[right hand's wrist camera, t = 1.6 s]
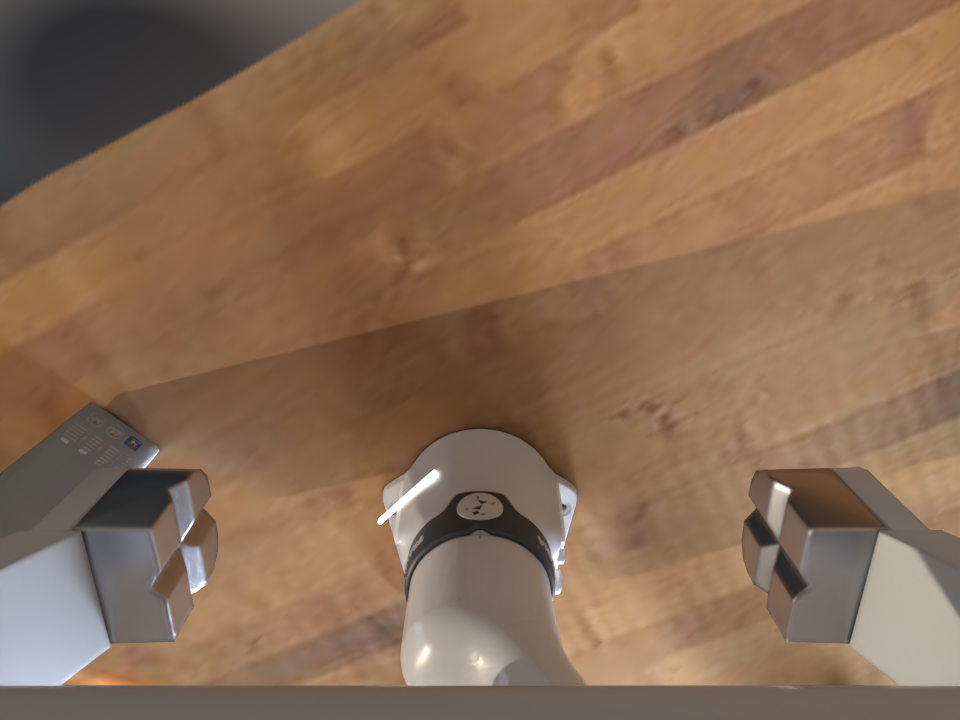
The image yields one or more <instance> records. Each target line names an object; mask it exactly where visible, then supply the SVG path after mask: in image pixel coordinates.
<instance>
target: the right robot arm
mask: <svg viewBox="0 0 960 720" xmlns="http://www.w3.org/2000/svg"><path fill="white" fill-rule="evenodd" d="M210 497H211V491H210V487H209V482H208V477H207V475H206V474H205V473H204V472H203V471H202V470H201V469H165V468H134V469H133V468H131V467H124V468H99V469H93V470H92V471H91V472H90V473H89V474H88V475H87V476H86V477H85V478H84V479H83V480H82V481H81V482H80V483H79V484H78V485H77V486H76V487H75V488H73V489H72V490H71V491H70V492H69V493H68V494H67V495H66V496H65V497H64V498H63V499H62V500H61V501H60V502H59V503H58V504H57V505H56V506H55V507H54V508H53V509H52V510H51V511H50V512H49V513H48V514H47V515H46V516H44V517H43V518H42V519H41V520H40V521H39V522H38V523H37V524H36V525H35V526H34V527H33V528H32V529H31V530H18V531H16V532H14V533H11V534H9V535H7V536H5V537H2V538H0V720H960V538H958V537H955V536H953V535H951V534H949V533H946V532H944V531H942V530H929V529H928V528H927V527H926V526H925V525H924V524H923V523H922V522H921V521H920V520H919V519H918V518H917V517H916V516H915V515H914V514H913V513H911V512H910V511H909V510H908V509H907V508H906V507H905V506H904V505H903V504H902V503H901V502H900V501H899V500H898V499H897V498H896V497H895V496H894V495H893V494H892V493H891V492H890V491H889V490H888V489H887V488H886V487H885V486H884V485H883V484H882V483H880V482H879V481H878V480H877V479H876V478H875V477H874V476H873V475H872V474H871V473H870V472H869V471H868V470H865V469H863V468H860V467H850V468H818V469H778V470H757V471H756V472H755V474H754V476H753V478H752V480H751V485H750V491H749V497H750V498H751V500H752V501H753V503H754V504H755V506H756V507H757V508H756V509H755V510H754V511H753V512H752V513H751V515H750V516H749V517H748V518H747V519H746V520H745V521H744V527H743V534H742V550H743V559H744V563H745V566H746V569H747V572H748V574H749V576H750V578H751V580H752V582H753V584H754V585H755V586H757V587H759V588H760V589H762V590H763V591H765V592H766V593H768V600H767V605H766V607H767V609H768V611H769V612H770V614H771V616H772V618H773V619H774V621H775V623H776V625H777V627H778V628H779V630H780V632H781V634H782V635H783V637H784V639H785V641H786V642H815V643H850V644H849V647H851V648H852V649H853V650H855V651H856V652H857V653H858V654H860V655H861V656H862V657H864V658H865V659H866V660H867V661H869V662H870V663H871V664H873V665H874V666H875V667H877V668H878V669H879V670H880V671H882V672H883V673H884V674H886V675H887V676H888V677H889V678H891V679H892V680H893V681H895V682H896V683H897V684H899V685H900V686H589V685H588V684H587V683H586V682H585V681H584V679H583V678H582V677H581V676H580V674H579V673H578V672H577V671H576V669H575V668H574V666H573V665H572V663H571V662H570V660H569V658H568V656H567V655H566V653H565V650H564V648H563V645H562V641H561V638H560V634H559V630H558V626H557V622H556V618H555V613H554V607H553V601H554V595H555V594H556V595H557V594H560V592H561V588H562V579H563V577H562V571H561V570H560V569H557V567H558V564H564V562H565V555H566V553H565V549H563V547H564V543H565V540H566V537H567V533H568V530H569V526H570V523H571V520H572V516H573V513H574V509H575V506H576V503H577V490H576V488H575V486H574V485H573V484H571V483H570V482H569V481H567V480H566V479H564V478H562V477H560V476H559V475H557V474H555V473H554V472H553V471H552V470H551V469H550V468H549V466H548V465H547V464H546V462H545V461H544V459H543V458H542V457H541V456H540V454H539V453H538V452H537V451H536V450H535V449H534V448H533V447H531V446H530V445H529V444H527V443H526V442H524V441H523V440H521V439H519V438H517V437H515V436H513V435H510V434H508V433H504V432H501V431H496V430H490V429H471V430H464V431H459V432H456V433H452V434H450V435H447V436H445V437H443V438H441V439H439V440H437V441H436V442H434V443H433V444H431V445H430V446H429V447H428V448H426V449H425V450H424V451H423V452H422V453H421V454H420V456H419V457H418V458H417V459H416V461H415V462H414V464H413V465H412V466H411V468H410V469H409V470H408V471H407V472H406V473H405V474H403V475H401V476H400V477H398V478H396V479H394V480H393V481H391V482H390V483H389V484H387V485H386V486H385V488H384V490H383V502H384V506H385V509H386V513H385V514H384V515H382V516H381V517H380V518H379V520H378V523H379V524H380V525H381V524H382V523H383V522H384V521H385V520H386V519H387V518H388V519H389V523H390V526H391V530H392V533H393V536H394V540H395V543H396V547H397V550H398V553H399V557H400V560H401V564H402V567H403V570H404V574H405V576H404V579H405V595H406V601H407V610H406V617H405V624H404V631H403V639H402V646H401V654H400V656H401V667H402V672H403V676H404V679H405V682H406V684H407V686H60V685H62V684H63V683H64V682H66V681H67V680H68V679H69V678H71V677H72V676H73V675H75V674H76V673H77V672H79V671H80V670H81V669H82V668H84V667H85V666H86V665H88V664H89V663H90V662H91V661H93V660H94V659H95V658H97V657H98V656H99V655H101V654H102V653H103V652H104V651H106V650H107V649H108V648H110V647H111V645H110V643H144V642H174V641H175V639H176V637H177V636H178V634H179V632H180V630H181V628H182V627H183V625H184V623H185V621H186V620H187V618H188V616H189V614H190V612H191V611H192V609H193V607H194V605H193V600H192V593H194V592H195V591H197V590H198V589H200V588H201V587H203V586H205V585H206V584H207V582H208V580H209V578H210V576H211V574H212V572H213V570H214V566H215V561H216V557H217V553H218V532H217V526H216V521H215V520H214V519H213V518H212V517H211V516H210V515H209V513H208V512H207V511H206V510H205V509H204V508H203V507H204V506H205V504H206V503H207V501H208V500H209V498H210ZM562 504H565V506H564V507H562Z"/></svg>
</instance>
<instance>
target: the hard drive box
mask: <svg viewBox="0 0 960 720" xmlns="http://www.w3.org/2000/svg"><path fill="white" fill-rule="evenodd" d="M158 451H159V449H157V446H156V445H155V444H153V443H152V442H150V441H149V440H148V439H146V438H145V437H143V436H142V435H140V434H139V433H137V432H136V431H134V430H133V429H131V428H130V427H129V426H127V425H126V424H124V423H123V422H121V421H120V420H118V419H117V418H115V417H114V416H112V415H111V414H110V413H108V412H107V411H105V410H104V409H102V408H101V407H99V406H98V405H96V404H95V403H93V402H91V403H89V404H88V405H87V406H85V407H84V408H83V409H81V410H80V411H79V412H78V413H76V414H75V415H74V416H72V417H71V418H70V419H69V420H67V421H66V422H65V423H63V424H62V425H61V426H60V427H58V428H57V429H56V430H55V431H53V432H52V433H51V434H49V435H48V436H47V437H46V438H44V439H43V440H42V441H41V442H39V443H38V444H37V445H36V446H34V447H33V448H32V449H31V450H29V451H28V452H27V453H26V454H24V455H23V456H22V457H21V458H19V459H18V460H17V461H16V462H14V463H13V464H12V465H11V466H9V467H8V468H7V469H5V470H4V471H3V472H2V473H0V538H2V537H5V536H7V535H9V534H11V533H14V532H16V531H18V530H31V529H32V528H33V527H34V526H35V525H36V524H37V523H38V522H39V521H40V520H41V519H42V518H43V517H44V516H46V515H47V514H48V513H49V512H50V511H51V510H52V509H53V508H54V507H55V506H56V505H57V504H58V503H59V502H60V501H61V500H62V499H63V498H64V497H65V496H66V495H67V494H68V493H69V492H70V491H71V490H72V489H73V488H75V487H76V486H77V485H78V484H79V483H80V482H81V481H82V480H83V479H84V478H85V477H86V476H87V475H88V474H89V473H90V472H91V471H92V470H93V469H99V468H124V467H131V468H133V469H134V468H145V467H146V466H147V465H148V464H149V463H150V461H151V460H152V459H153V458H154V457H155V455H156V454H157V453H158Z"/></svg>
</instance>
